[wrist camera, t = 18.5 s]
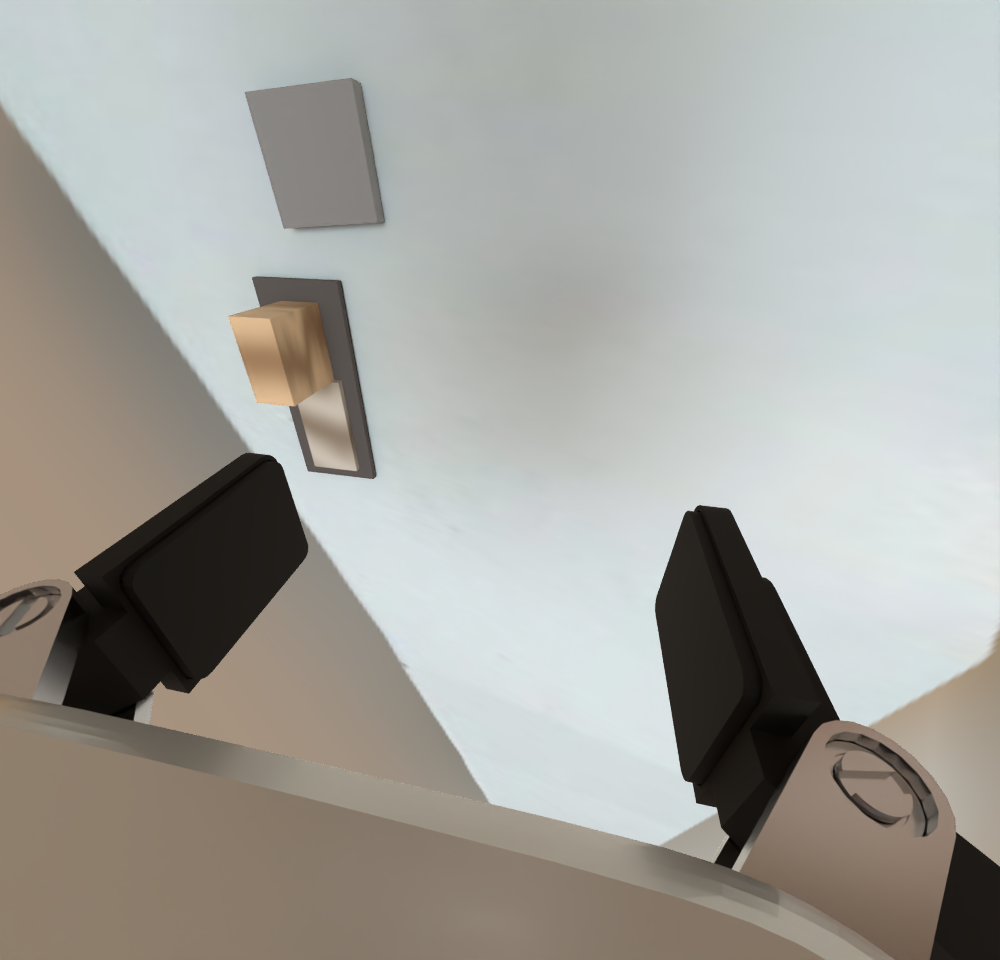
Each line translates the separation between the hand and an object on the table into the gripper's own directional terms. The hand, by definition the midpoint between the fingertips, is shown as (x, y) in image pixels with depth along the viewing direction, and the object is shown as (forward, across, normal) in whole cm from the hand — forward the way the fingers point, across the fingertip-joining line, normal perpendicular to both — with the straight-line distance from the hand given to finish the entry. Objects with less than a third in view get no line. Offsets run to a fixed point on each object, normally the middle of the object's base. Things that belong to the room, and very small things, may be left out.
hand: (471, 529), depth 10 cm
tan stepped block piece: (+28, +22, +9) cm, 37 cm away
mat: (+28, +22, +9) cm, 37 cm away
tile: (+28, +14, -9) cm, 33 cm away
